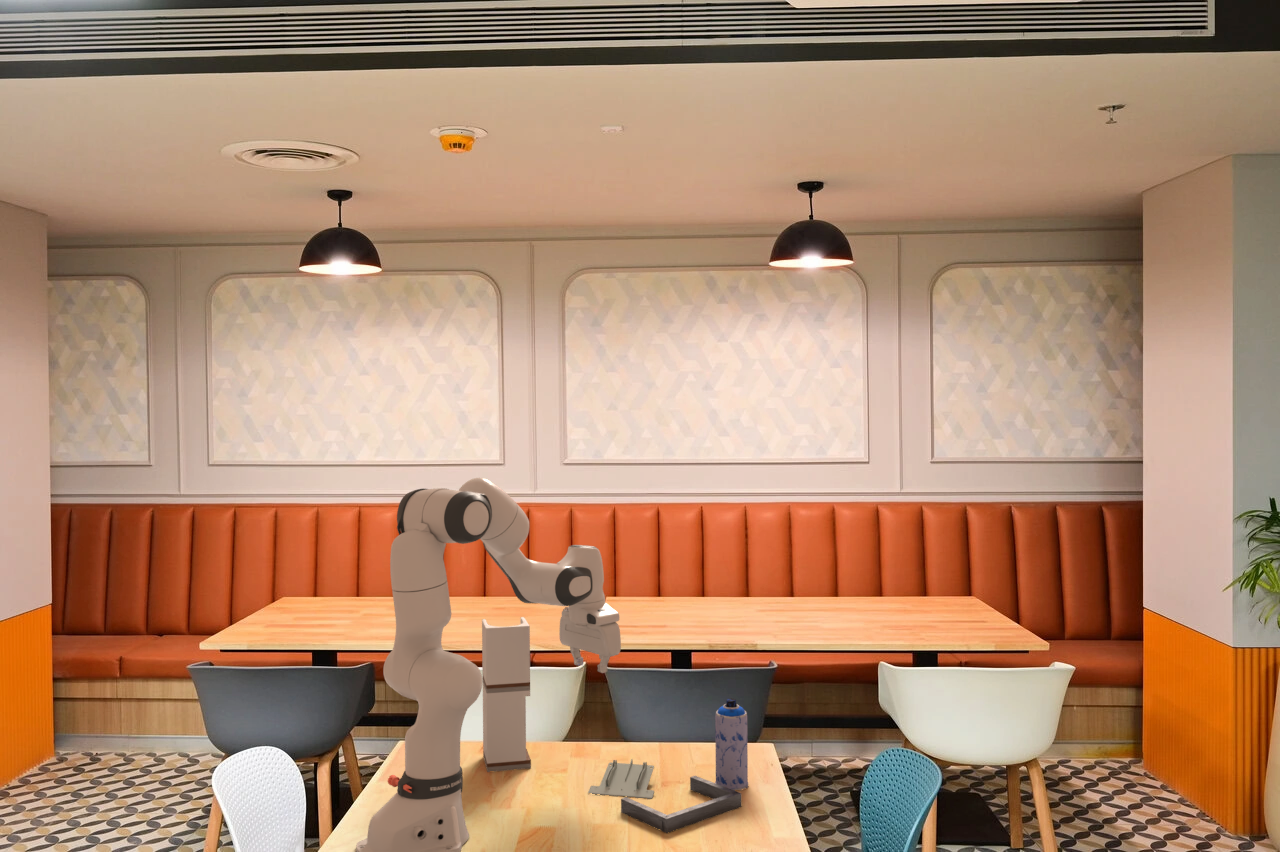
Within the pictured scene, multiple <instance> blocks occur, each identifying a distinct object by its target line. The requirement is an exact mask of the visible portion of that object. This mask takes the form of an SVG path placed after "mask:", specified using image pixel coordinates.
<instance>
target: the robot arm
mask: <svg viewBox="0 0 1280 852" xmlns="http://www.w3.org/2000/svg"><path fill="white" fill-rule="evenodd" d="M396 522H397V525H396V529H397V533H398V535H397V536H396V537H395V538H394V539H393V541H392V543H391V545H390V558H389V559H390V561H389V562H390V563H389V565H390V567H389V568H390V582H391V590H392V598H393V599H392V600H393V608H394V614H395V615H394V616H395V637H394V642H393V643H394V644H393V647H392V650H391V651H390V652H389V653H388V654H387V656H386V658H385V661H384V664H383V667H382V668H383V672H382V673H383V678H384V680H385V682H386V684H387V685H388V686H389V687H390V688H391V689H393V690H394V691H395V693H398V695H400V696H401V697H405V698H407V699H411V700H414V701H416V702H418V711H417V717H416V719H415V722H414V724H413V725H411V726H410V727H409V728H408V729H407V731H406V733H405V737H404V748H405V749H404V754H405V755H404V757H405V758H404V763H405V764H404V766H405V768H404V771H403V772H402V773H403V774H402V775H401V777H398V776H396V775H395V774H391V775H389V776H388V777H389V778H388V777H387V784H388V785H389V786H391V787H393V788H397V789H396V791H397V792H395V794H394V795H393V796H391V798H390V799H389V800H388V801H387V802H386V803H385V804H384V805H382V807H381V808H380V809H378V811H376V813H374V814H373V815H372V817H371V819H370V820H369V825H368V829H367V835H366V836H367V838H364V839H362V840H359V841H358V842H356V847H355V852H461V851H462V847H463V846H464V844H465V843H466V842H467V841H468V840H469V837H470V834H469V831H468V826H467V824H466V819H465V814H464V809H463V808H464V807H463V800H462V797H463V796H462V793H463V786H464V782H463V768H462V766H461V735H462V728H463V722H464V720H465V716H466V714H467V711H468V709H469V708H471V706H473V704H474V703H476V701H477V700H478V698H479V697H480V695H481V692H482V690H483V673H482V672H481V670H480V669H479V667H478V666H477V665H476V664H475V663H474V662H472V661H471V660H469V659H468V658H466V657H465V656H464V655H461V654H458V653H453V652H449V651H446V650H444V649H443V645H442V636H443V630H444V628H445V627H446V626H447V625H448V624H449V623H450V621H451V618H452V608H451V607H452V606H451V599H450V591H449V582H448V576H447V570H446V565H445V562H444V553H445V549H446V547H447V544H459V545H460V544H461V545H464V544H472V543H474V542H477V541H479V540H480V541H481V542H482V544H483V547H484V549H485V551H486V553H487V554H488V555H489V556H490V558H491V559H492V560H493V562H494V563H495V564H496V565H497V566H498V568H499V569H500V570H501V572H502V573H503V574H504V575H505V577H506V578H507V579H508V581H509V583H510V585H511V588H512V591H513V593H514V595H515V596H516V597H517V599H518V600H519V601H520V602H522V603H523V604H541V605H549V606H557V607H564V608H563V609H562V611H561V617H560V619H559V620H560V621H559V641H560V643H561V645H563V646H567V647H569V648H570V649H569V651H570V654H571V656H572V658H573V664H574V665H575V666H577V667H580V666H583V665H584V657H583V656H582V654H581V652H580V651H581V650H582V651H585V652H589V653H592V654H595V655H598V657H599V659H600V662H599V664H597V672H598V673H601V674H604V673H607V672H608V663H609V662H610V659H611V657H615V656H618V655H619V654H620V652H621V648H622V645H621V644H622V642H621V630H620V626H619V623H618V622H619V621H620V613H619V612H618V611H617V610H615V609H614V608H613V607H611V606H610V605H609V604H608V603H607V602H606V595H605V593H604V583H605V577H604V576H605V575H604V573H605V572H604V565H603V558H602V554H601V551H600V550H599V548H597V546H593V545H583V544H572V545H569V546H568V548H567V552H566V554H565V555H564V556H563V557H562V558H561V559H560V561H558V562H556V563H551V562H543V561H542V562H541V561H536V560H532V559H529V558H527V557H526V556H525V554H524V553H523V552H522V551H521V549H520V548H521V547H522V546H523V544H524V543H525V541H526V539H527V538H528V536H529V532H530V520H529V518H528V516H527V514H526V512H525V511H524V510H523V508H522V507H521V506H520V505H519V504H518V503H517V502H516V501H515V500H514V499H513V498H512V497H511V496H510V495H509V494H508V493H507V492H506V491H504V490H503V489H502V488H501V487H500V486H498V485H497V484H495V483H494V482H492V481H491V480H489V479H487V478H484V477H475V478H472V479H470V480H468V481H465V483H464V484H462V486H460V487H459V489H458V490H456V489H455V490H454V489H449V488H442V487H441V488H438V487H437V488H419V489H417V488H416V489H415V490H412V491H409V492H407V493H406V494H404V495H403V497H402V498H401V500H400V502H399V504H398V508H397V514H396Z"/></svg>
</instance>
